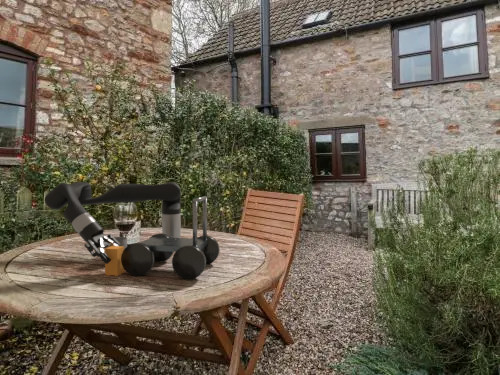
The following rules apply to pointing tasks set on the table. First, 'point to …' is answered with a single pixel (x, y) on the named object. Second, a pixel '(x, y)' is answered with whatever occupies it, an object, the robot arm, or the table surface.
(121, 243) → the cup
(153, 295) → the table surface
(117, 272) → the orange rectangular block
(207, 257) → the trolley
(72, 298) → the table surface
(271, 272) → the table surface
